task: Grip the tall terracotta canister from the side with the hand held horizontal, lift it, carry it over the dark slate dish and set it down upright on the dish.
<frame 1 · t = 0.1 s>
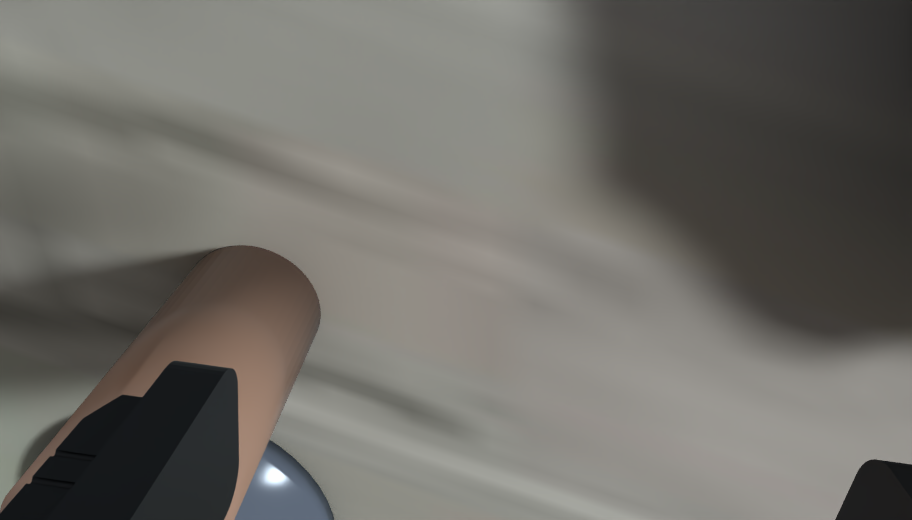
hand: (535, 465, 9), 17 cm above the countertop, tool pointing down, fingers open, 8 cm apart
canister: (253, 305, 29), on the countertop
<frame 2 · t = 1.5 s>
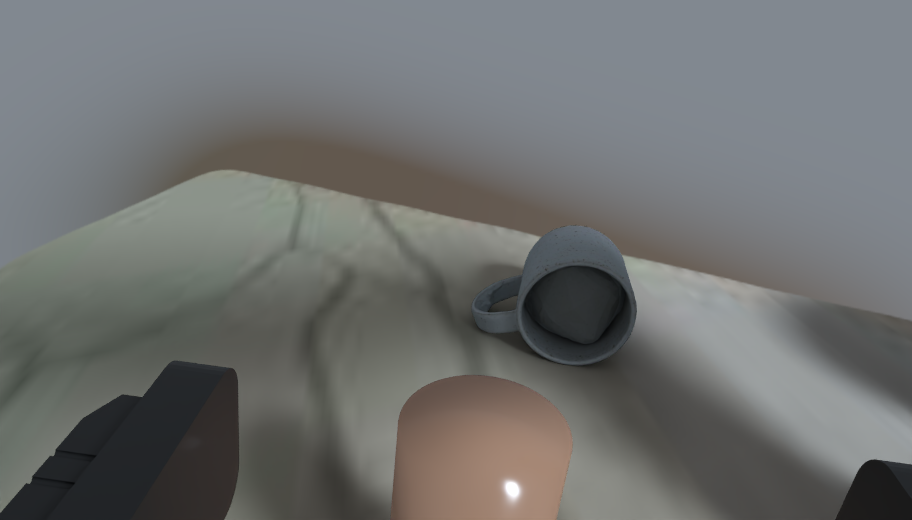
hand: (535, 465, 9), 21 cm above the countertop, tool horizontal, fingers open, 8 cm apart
ceramic mug: (546, 335, 51), on the countertop
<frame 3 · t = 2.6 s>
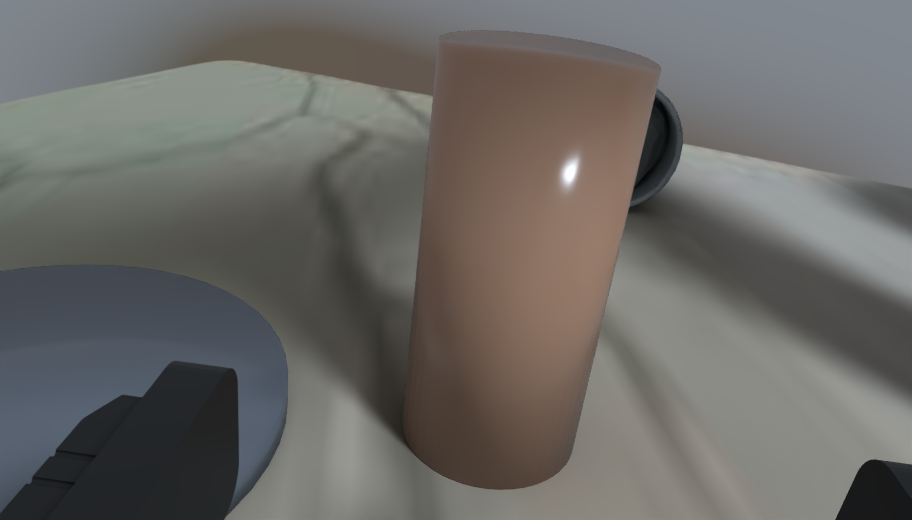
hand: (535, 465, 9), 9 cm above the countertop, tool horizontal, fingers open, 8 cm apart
slate dish: (30, 414, 21), on the countertop
canister: (487, 426, 23), on the countertop
ceramic mug: (577, 189, 46), on the countertop
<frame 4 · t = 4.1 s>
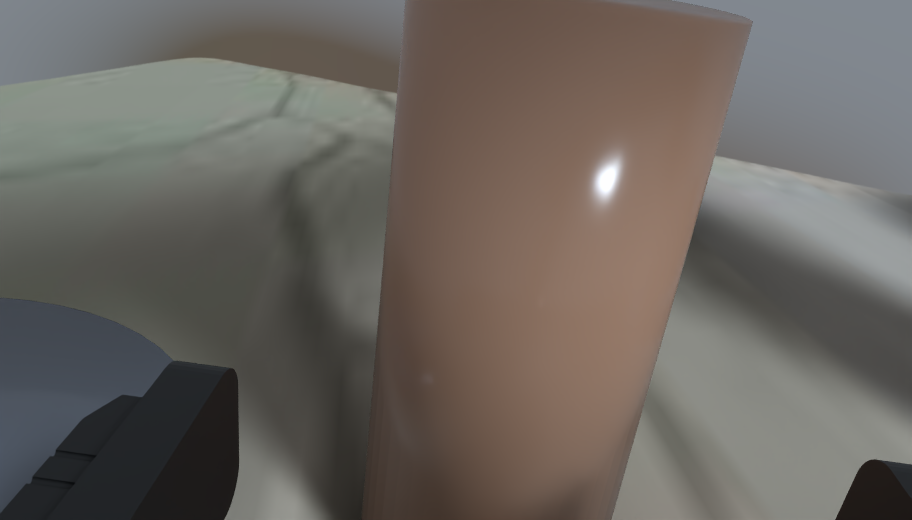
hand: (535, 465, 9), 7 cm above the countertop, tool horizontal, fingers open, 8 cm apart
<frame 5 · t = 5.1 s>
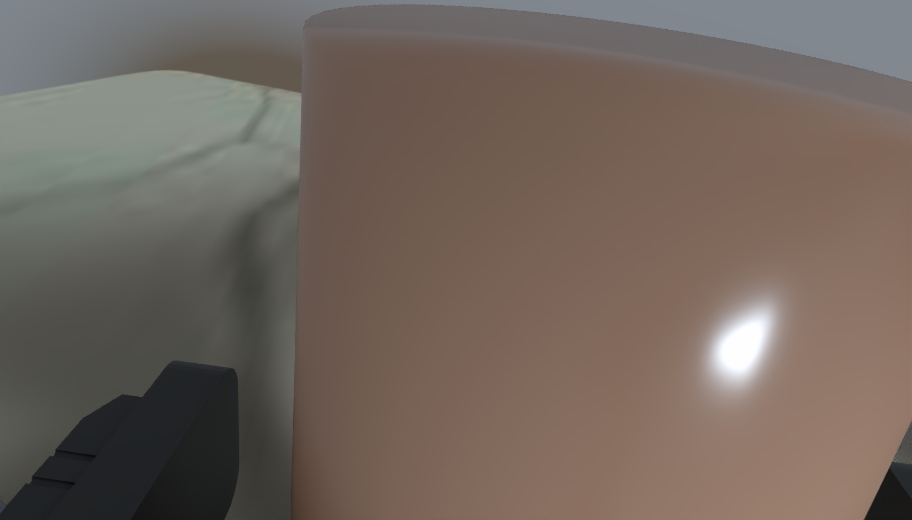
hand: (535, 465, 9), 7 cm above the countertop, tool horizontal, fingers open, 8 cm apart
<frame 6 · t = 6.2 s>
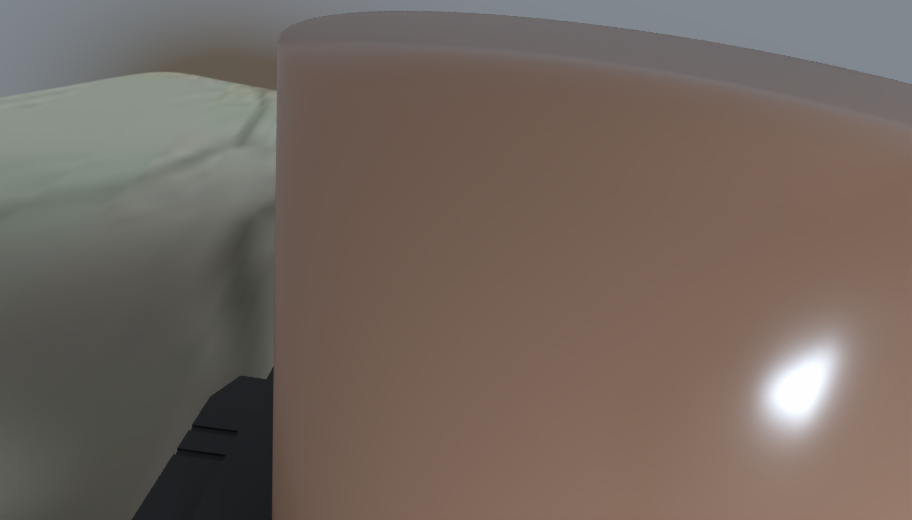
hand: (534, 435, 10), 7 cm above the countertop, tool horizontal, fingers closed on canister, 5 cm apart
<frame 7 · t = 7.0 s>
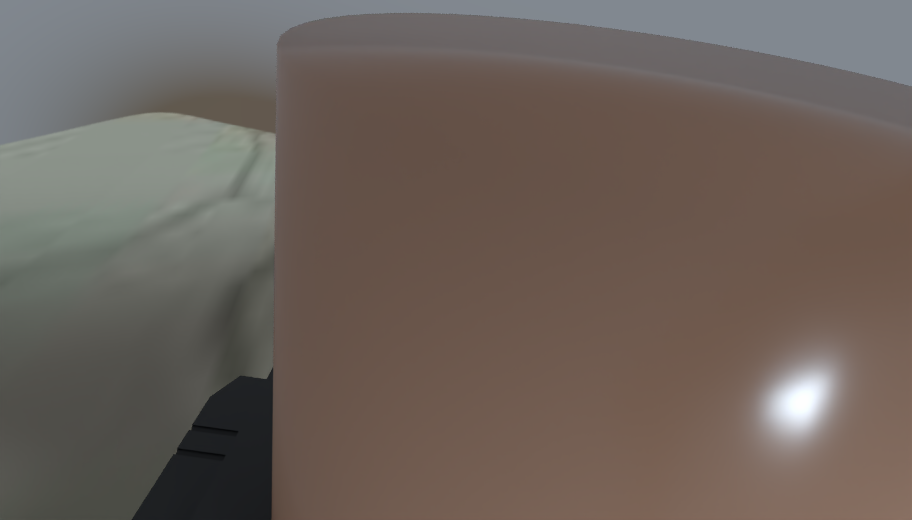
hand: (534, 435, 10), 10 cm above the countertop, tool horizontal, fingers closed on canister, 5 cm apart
when the fingers open (9 cm above the countertop, at t = 11.0 s): canister stays where it is, resting on slate dish.
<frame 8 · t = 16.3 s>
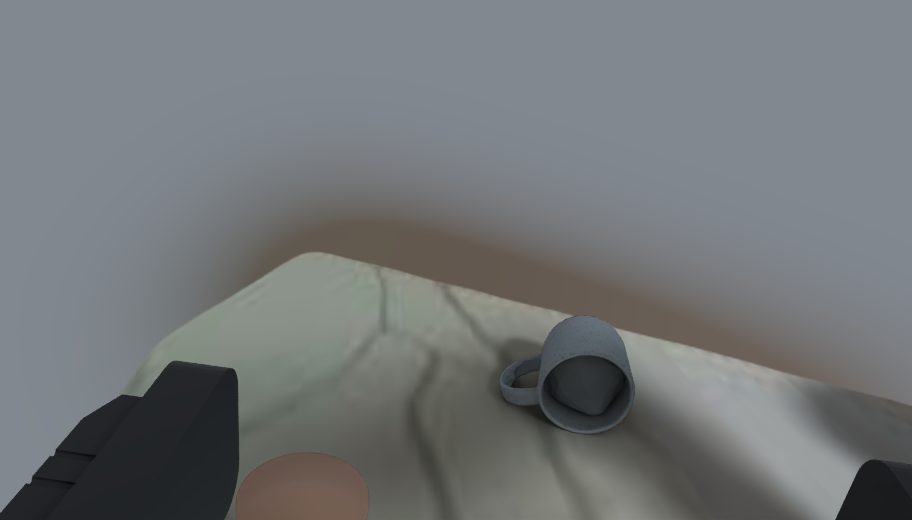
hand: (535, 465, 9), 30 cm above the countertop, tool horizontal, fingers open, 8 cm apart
ceramic mug: (560, 406, 62), on the countertop
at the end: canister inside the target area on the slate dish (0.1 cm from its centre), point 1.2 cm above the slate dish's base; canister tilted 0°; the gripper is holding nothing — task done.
